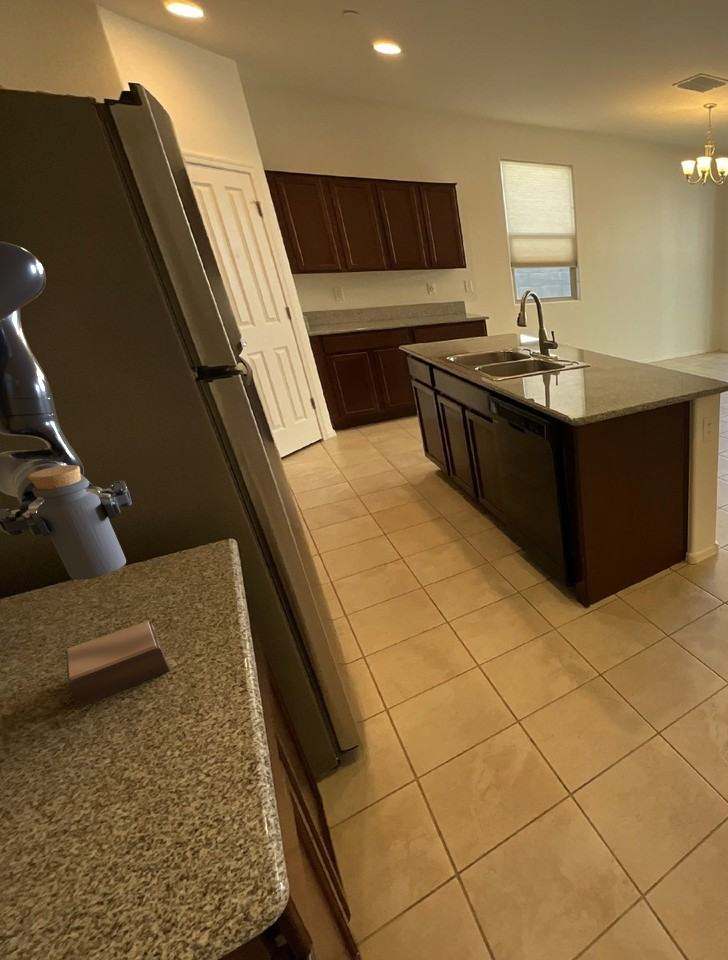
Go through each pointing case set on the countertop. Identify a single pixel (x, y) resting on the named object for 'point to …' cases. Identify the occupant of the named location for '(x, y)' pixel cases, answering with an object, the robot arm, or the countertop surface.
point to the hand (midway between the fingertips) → (78, 520)
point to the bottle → (77, 523)
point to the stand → (114, 662)
